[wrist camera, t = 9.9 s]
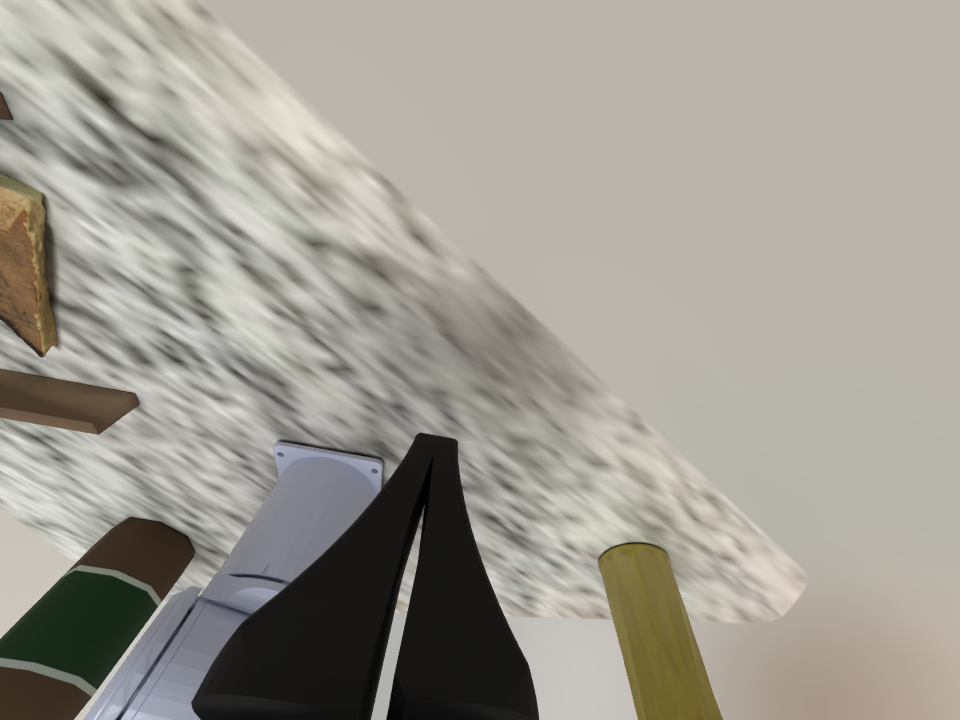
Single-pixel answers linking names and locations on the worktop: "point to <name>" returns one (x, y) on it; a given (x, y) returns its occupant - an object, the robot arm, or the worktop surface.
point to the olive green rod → (656, 636)
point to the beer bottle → (88, 621)
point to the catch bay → (60, 394)
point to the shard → (24, 266)
